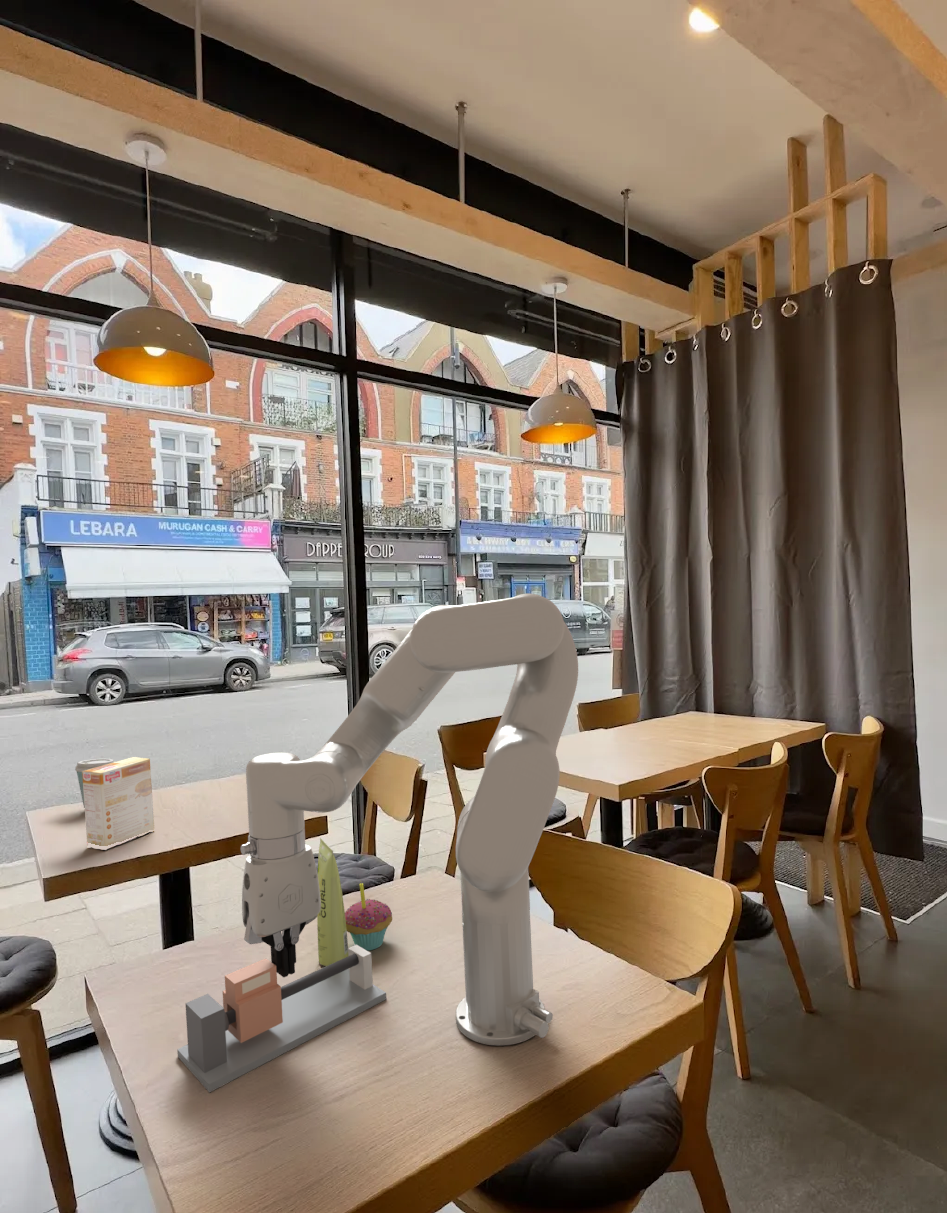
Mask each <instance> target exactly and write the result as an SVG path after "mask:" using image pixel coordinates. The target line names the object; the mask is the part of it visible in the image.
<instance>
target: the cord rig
mask: <svg viewBox="0 0 947 1213" xmlns="http://www.w3.org/2000/svg"><path fill="white" fill-rule="evenodd" d="M372 961H373V960H372V952H370V951H369V950H365V949H363V948H361V947H360V946H358V945H355V944H354V945H352V946H349V947H348V957H346V958H343V959H341V960H339V961H337V962H335V963H333V964H330V965H328V966H324V967H322V968H320V969H318V970H315V971H313V972H311V973H308V974H307V975H304V976H302V977H300V978H298V979H296V980H293V981H291V982H289V983H286V984H285V985H283V986H281V999H282V1017H283V1023H281V1024H279V1025H277V1026H275V1027H273V1028H271V1029H269V1030H266V1031H264V1032H262V1033H260V1034H258V1035H256V1036H254V1037H252V1038H250V1039H248V1040H246V1041H244V1042H242V1043H241V1042H240V1041H239V1040H238V1039H236V1038H235V1037H234V1036H233V1035H232V1034H231V1033H230V1032H229V1031H228V1028H229V1025H230V1024H232V1023H234V1022H236V1011H235V1010H234V1009H232V1010H230V1011H227V1012H225V1011H224V1008H223V1005H221V1004H220V1003H219V1002H218V1001H216V999H214V997H212V996H211V995H210V994H209V993H206V994H203V995H202V996H200V997H197V998H194V999H192V1000H190V1001H188V1002H185V1015H186V1016H185V1018H186V1033H187V1044H185V1045H183V1046H181V1047H179V1048H177V1049H176V1050H177V1057H178V1059H179V1061H181V1062H182V1063H183V1064H184V1066H186V1068H187V1069H188V1071H190V1072H191V1074H192V1075H193V1076H194V1077H195V1078H196V1079H197V1080H198V1081H199V1083H200V1084H201V1085H202V1086H203V1087H204V1088H205V1089H206V1090H207V1092H208V1093H211V1092H213V1091H215V1090H217V1089H219V1088H220V1087H222V1086H224V1085H226V1084H228V1083H230V1082H232V1081H234V1080H236V1079H238V1078H239V1077H242V1076H243V1075H245V1074H247V1073H250V1072H251V1071H252V1070H255V1069H256V1068H258V1067H260V1066H262V1065H264V1064H266V1063H268V1062H270V1061H272V1060H274V1059H276V1058H278V1057H280V1056H281V1055H283V1054H285V1053H287V1052H288V1051H290V1050H292V1049H293V1050H294V1049H295V1048H296V1047H299V1046H300V1045H302V1044H304V1043H306V1042H308V1041H310V1040H312V1039H314V1038H316V1037H317V1036H319V1035H321V1034H323V1033H325V1032H327V1031H328V1030H330V1029H333V1028H335V1027H337V1026H338V1025H340V1024H342V1023H344V1022H346V1021H349V1020H350V1019H351V1018H353V1017H355V1016H357V1015H359V1014H361V1013H364V1012H365V1011H367V1010H369V1009H370V1008H372V1007H374V1006H376V1005H378V1004H380V1003H382V1002H383V1001H385V1000H387V992H386V991H385V990H383V989H381V988H380V987H378V986H377V985H375V984H374V981H373V980H374V978H373V963H372Z"/></svg>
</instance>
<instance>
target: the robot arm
mask: <svg viewBox="0 0 947 1213" xmlns="http://www.w3.org/2000/svg"><path fill="white" fill-rule="evenodd" d="M514 665H517V666H516V673H515V678H514V681H513V684H512V686H511V689H510V693H509V696H508V699H507V702H506V704H505V706H504V708H503V709H504V710H503V713H502V715H501V717H500V720H499V722H498V725H497V727H496V729H495V732H494V734H493V737H492V738H491V740H490V741H489V744H488V747H487V750H486V753H485V754H486V755H485V760H484V761H485V762H484V764H485V765H484V766H485V767H484V770H483V773H482V776H481V779H480V782H479V784H478V787H477V789H476V793H475V795H474V796H472V797H471V798H470V799H469V800H468V801H467V803H466V804H465V805H464V807H463V808H462V810H461V812H460V815H459V819H458V822H457V829H456V841H455V842H456V843H455V858H456V859H455V860H456V863H457V866H458V869H459V871H460V894H461V896H460V897H461V919H462V920H461V923H462V924H461V925H462V939H463V941H462V942H463V962H464V963H463V964H464V984H465V997H463V999H461V1000H460V1002H459V1003H458V1005H457V1006H456V1009H455V1022H456V1023H455V1024H456V1027H457V1028H458V1029H459V1030H458V1031H460V1032H461V1033H462V1034H463V1035H464V1036H465V1037H467V1038H468V1039H470V1040H472V1041H474V1042H476V1043H479V1044H482V1045H489V1046H496V1047H497V1046H498V1047H499V1046H501V1047H502V1046H510V1045H515V1044H516V1045H517V1044H520V1043H522V1042H525V1041H528V1040H530V1039H532V1038H533V1037H534V1036H538V1037H539V1038H542V1039H543V1038H545V1037H546V1036H547V1035H548V1032H549V1024H550V1023H551V1022H552V1020H553V1016H554V1015H553V1013H552V1012H551V1011H549V1010H547V1009H546V1008H545V1004H544V1003H543V1001H542V1000H541V999H540V991H538V990H536V989H535V988H534V976H533V975H534V974H533V953H532V952H533V951H532V933H531V931H532V930H531V928H532V927H531V912H530V911H531V902H530V901H531V899H530V898H531V897H530V878H529V866H530V863H531V862H532V859H533V857H534V855H535V852H536V849H537V846H538V845H539V844H538V843H539V842H540V838H541V836H542V834H543V831H544V828H545V826H546V823H547V821H548V818H549V816H550V813H551V810H552V807H553V805H554V802H555V799H556V795H557V792H558V788H559V784H560V778H561V777H560V774H561V773H560V765H559V760H558V757H557V749H558V745H559V742H560V739H561V736H562V733H563V730H564V728H565V725H566V721H567V719H568V716H569V714H570V713H569V712H570V709H571V706H572V704H573V701H574V696H575V693H576V691H577V690H576V689H577V686H578V680H579V679H578V678H579V658H578V653H577V648H576V645H575V641H574V638H573V635H572V634H571V631H570V629H569V627H568V626H567V624H566V622H565V621H564V617H563V615H562V613H561V610H560V609H559V608H558V606H557V605H556V604H554V602H553V601H551V600H550V599H548V598H546V597H545V596H542V595H539V594H535V593H529V592H528V593H527V592H526V593H522V594H517V595H515V596H513V597H507V598H502V599H496V600H488V601H482V602H473V603H467V604H457V605H451V604H439V605H436V606H433V607H431V608H428V609H427V610H425V611H424V612H422V613H421V614H420V616H418V617H417V619H416V620H415V622H414V624H413V626H412V628H411V629H410V630H409V632H407V634H406V635H405V637H404V638H403V639H402V640H401V642H400V643H399V644H398V645H397V647H396V648H395V649H393V652H392V653H391V654H390V655H389V657H387V659H386V660H385V661H384V662H383V663H382V665H381V666H380V667H379V668H378V669H377V671H375V673H374V674H373V676H372V677H371V678H370V679H369V681H368V682H367V683H366V685H365V686H364V688H363V690H362V693H361V696H360V697H359V700H358V701H357V703H356V705H355V706H354V707H353V709H352V710H351V711H350V713H349V714H348V715H347V717H346V718H345V719H344V720H343V722H342V723H341V724H340V726H338V728H337V729H336V730H335V732H334V733H333V734H332V735H331V736H330V738H329V739H328V740H327V741H326V742H325V744H324V745H323V746H322V747H321V748H320V749H319V750H318V751H317V752H316V753H315V754H314V755H313V756H311V757H309V758H306V759H303V760H300V757H298V756H297V755H296V754H294V753H291V752H284V751H283V752H280V751H279V752H270V753H263V754H260V755H257V756H254V757H253V758H251V759H250V760H249V761H248V762H247V764H246V767H245V781H246V799H247V800H246V802H247V813H248V814H247V817H248V818H247V819H248V820H247V821H248V835H247V842H246V843H244V844H241V845H240V852H241V854H242V856H245V855H249V856H246V858H245V864H244V869H243V877H242V878H243V879H242V888H241V890H242V891H241V892H242V893H241V912H242V913H241V915H242V923H243V927H244V928H245V933H244V938H243V939H244V941H245V942H246V943H247V944H249V945H256V944H263V943H265V944H266V945H268V946H269V947H270V959H271V960H270V962H272V963H273V964H274V965H276V971H277V974H279V975H280V976H281V977H282V978H286V977H288V976H289V975H293V974H295V973H296V963H297V951H296V948H297V947H296V945H297V944H298V942H299V940H300V935H301V934H302V932H303V930H304V929H305V927H306V926H307V925H309V924H311V923H312V922H313V921H315V920H317V915H318V914H319V912H320V909H321V898H320V888H319V881H318V868H317V865H316V861H315V856H314V852H313V849H312V847H311V846H310V845H309V844H306V828H305V812H312V813H321V814H322V813H331V812H334V811H336V810H338V809H340V808H342V806H344V804H345V803H346V802H347V801H348V799H349V798H350V796H351V795H352V794H353V792H354V789H355V788H356V787H357V785H358V784H359V783H360V781H361V779H362V778H363V777H364V776H365V775H366V773H367V772H368V770H370V768H371V767H372V766H373V765H374V764H375V762H376V761H377V760H378V758H379V757H380V756H381V754H382V753H384V751H385V750H386V749H387V747H388V746H389V745H391V743H392V742H393V741H394V740H395V739H396V738H397V737H398V736H399V735H400V733H402V732H404V731H405V730H407V729H408V728H410V727H411V726H412V725H413V724H414V722H416V721H417V720H418V719H419V717H420V716H421V715H422V713H423V712H424V711H425V710H426V709H427V707H428V706H429V705H430V704H431V703H432V702H433V700H434V699H435V698H436V696H437V695H438V694H439V693H440V691H441V690H442V689H443V688H444V687H445V686H446V684H447V683H448V682H449V681H450V679H451V678H452V677H453V676H454V674H456V673H458V672H469V671H478V670H479V671H480V670H485V669H493V668H498V667H506V666H514Z"/></svg>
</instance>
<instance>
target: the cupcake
mask: <svg viewBox="0 0 947 1213" xmlns="http://www.w3.org/2000/svg"><path fill="white" fill-rule="evenodd" d="M358 886H359V892H360V893H359V894H360V901H358V902H356V903H354V904H352V905H350V906H349V908H347V909H346V910H345V920H346V930H347V933H349V934H350V937H351V938H352V941H353V944H354V945H358V946H360V947H361V948H363V949H365V950H367V951H372V950H377V949H378V948H380V947H381V946H382V945H383V943H384V940H385V935H386V932H387V929H388V927H389V926H390V925H391V923H392V922H393V915H392V914H393V912H392V911H391V910H392V909H391V908H390V907H389V905H388V904H387V903H384V902H381V901H379V900H376V899H369V898H367V899H366V895H365V887H364V883H363V882H362V879H360V880H359V885H358Z"/></svg>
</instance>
